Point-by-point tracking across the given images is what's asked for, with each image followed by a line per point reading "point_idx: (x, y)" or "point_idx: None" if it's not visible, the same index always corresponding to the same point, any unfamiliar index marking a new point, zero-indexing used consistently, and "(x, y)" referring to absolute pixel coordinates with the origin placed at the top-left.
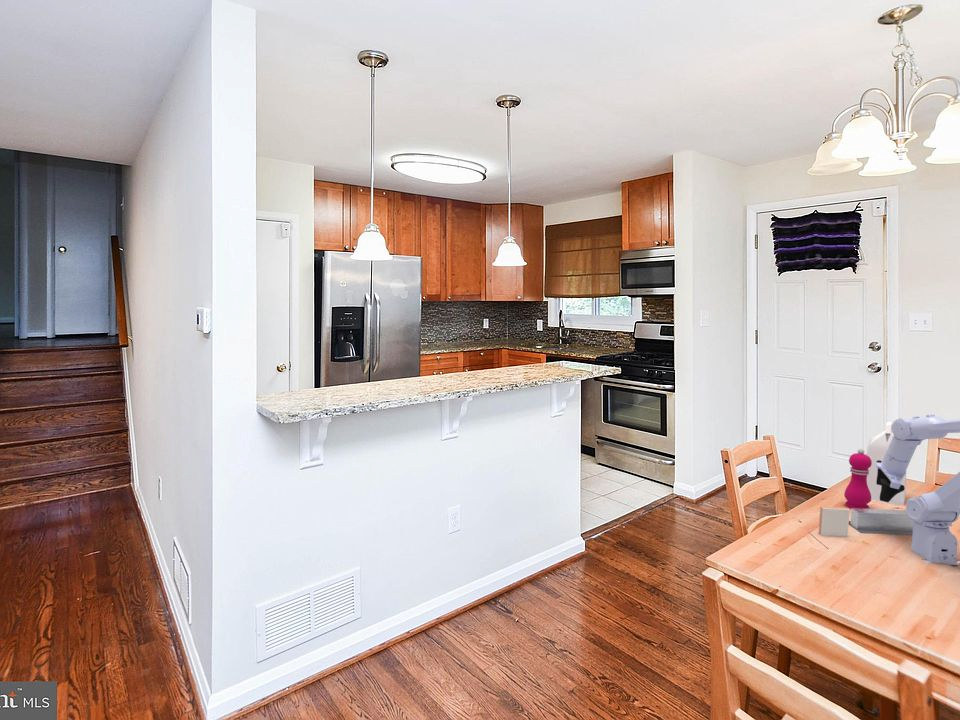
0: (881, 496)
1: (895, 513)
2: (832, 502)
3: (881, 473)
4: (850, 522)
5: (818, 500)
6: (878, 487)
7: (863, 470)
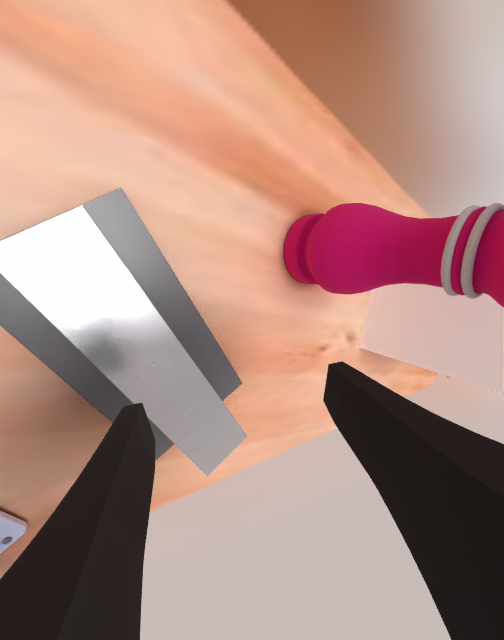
0: (99, 450)
1: (164, 421)
2: (334, 177)
3: (414, 459)
4: (117, 220)
5: (336, 128)
6: (411, 303)
7: (475, 273)
